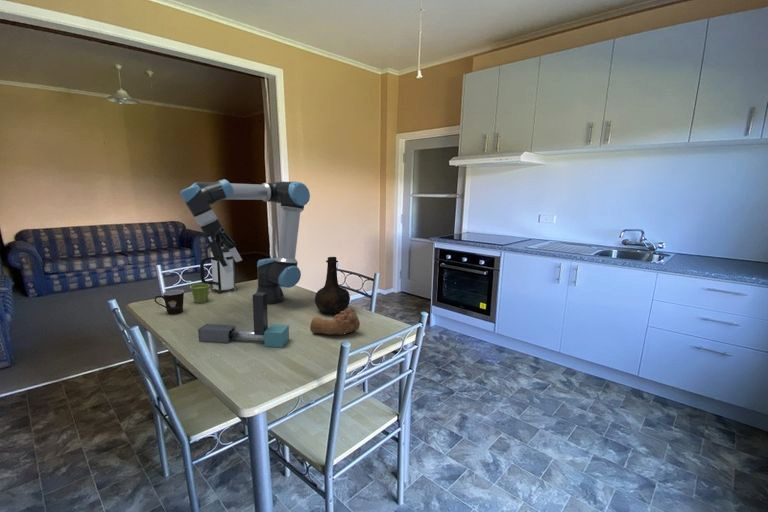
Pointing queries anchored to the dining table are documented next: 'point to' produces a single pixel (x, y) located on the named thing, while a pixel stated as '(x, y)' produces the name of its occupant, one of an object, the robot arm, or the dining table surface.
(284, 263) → the robot arm
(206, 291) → the plant pot
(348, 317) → the clay pipe
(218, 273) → the coffee press
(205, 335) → the outer sleeve
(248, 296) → the dining table surface
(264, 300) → the dark lever handle
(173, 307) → the coffee mug
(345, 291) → the glass bottle
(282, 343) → the socket block
